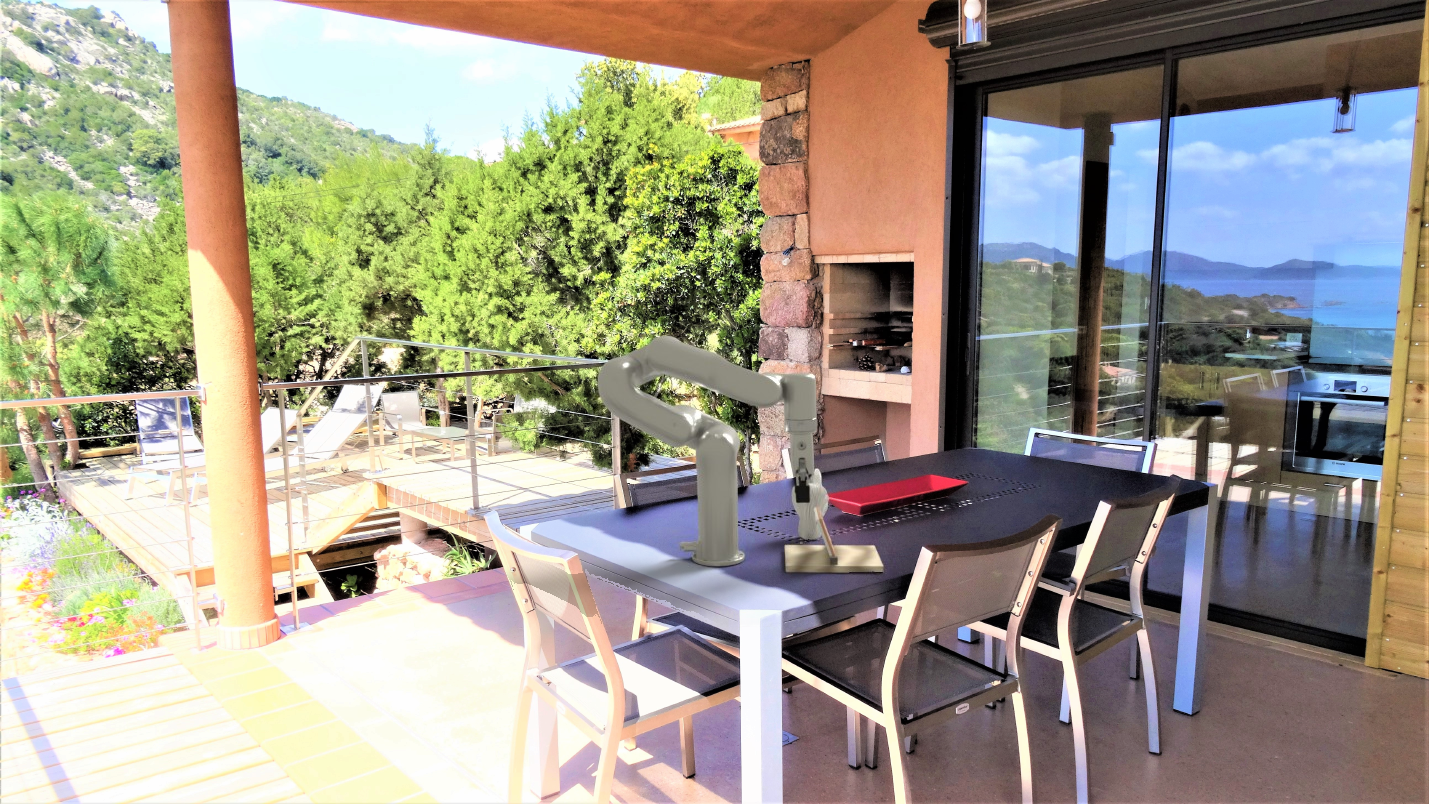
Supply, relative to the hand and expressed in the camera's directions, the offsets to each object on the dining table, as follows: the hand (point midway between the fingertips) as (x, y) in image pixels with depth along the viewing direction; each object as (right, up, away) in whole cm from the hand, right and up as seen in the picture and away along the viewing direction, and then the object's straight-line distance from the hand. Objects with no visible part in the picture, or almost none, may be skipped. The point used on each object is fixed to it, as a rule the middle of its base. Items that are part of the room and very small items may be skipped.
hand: (802, 497), depth 203 cm
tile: (+5, -9, +1) cm, 10 cm away
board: (+7, -15, +1) cm, 17 cm away
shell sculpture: (+4, -13, +21) cm, 26 cm away
